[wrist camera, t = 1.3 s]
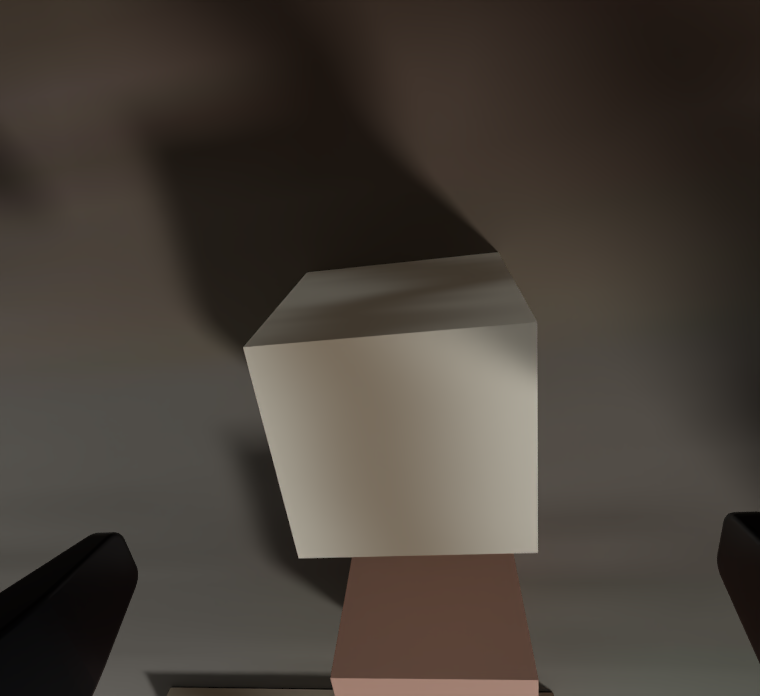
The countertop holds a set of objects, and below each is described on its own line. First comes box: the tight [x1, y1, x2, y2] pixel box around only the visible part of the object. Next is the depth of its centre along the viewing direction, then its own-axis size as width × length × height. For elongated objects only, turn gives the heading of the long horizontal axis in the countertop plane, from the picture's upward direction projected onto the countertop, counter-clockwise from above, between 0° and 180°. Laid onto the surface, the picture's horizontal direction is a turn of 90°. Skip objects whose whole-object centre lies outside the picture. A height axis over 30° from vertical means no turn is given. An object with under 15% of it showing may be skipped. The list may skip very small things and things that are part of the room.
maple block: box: [243, 252, 538, 558], centre depth 11 cm, size 5×5×5 cm
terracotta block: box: [330, 553, 539, 696], centre depth 15 cm, size 5×5×5 cm
